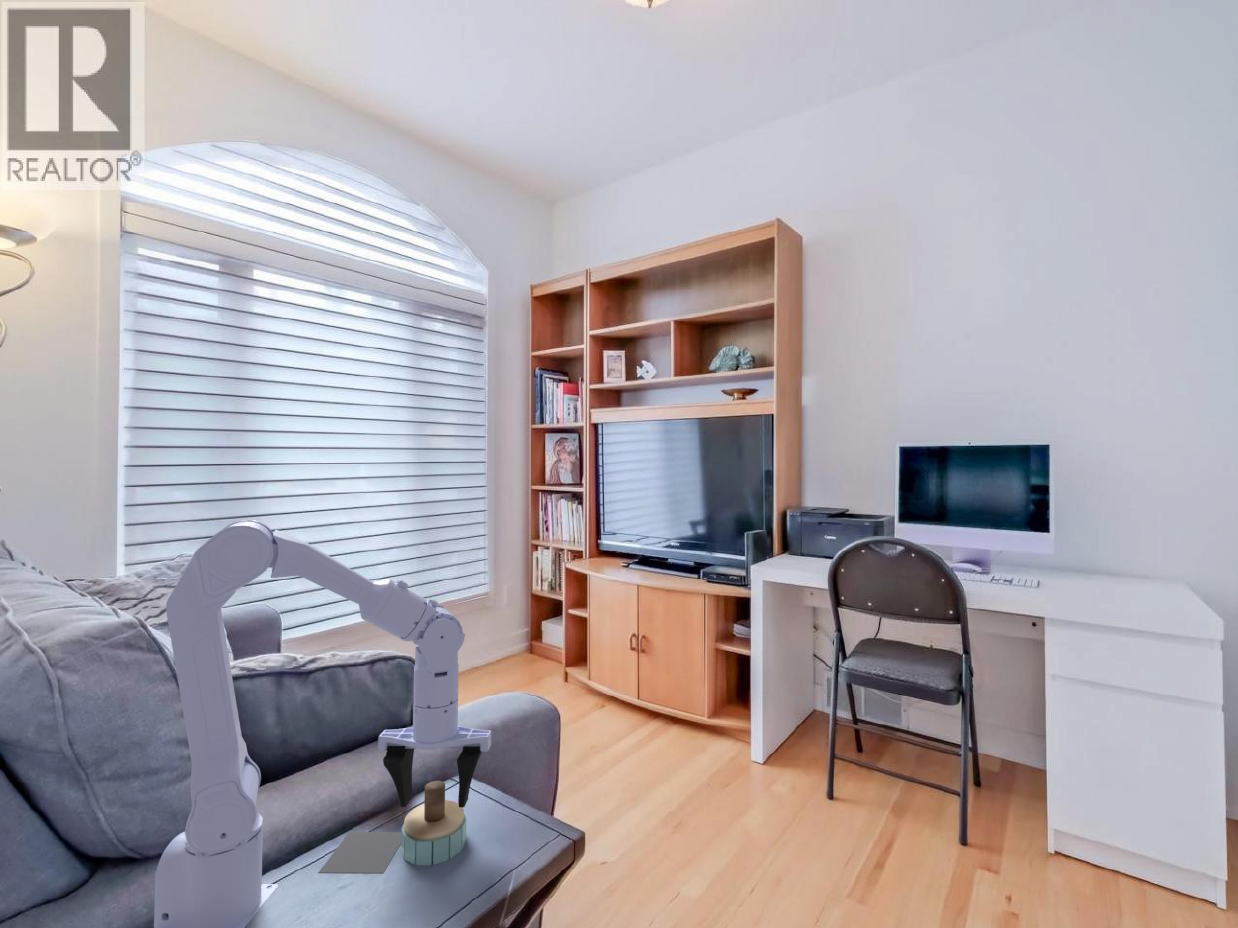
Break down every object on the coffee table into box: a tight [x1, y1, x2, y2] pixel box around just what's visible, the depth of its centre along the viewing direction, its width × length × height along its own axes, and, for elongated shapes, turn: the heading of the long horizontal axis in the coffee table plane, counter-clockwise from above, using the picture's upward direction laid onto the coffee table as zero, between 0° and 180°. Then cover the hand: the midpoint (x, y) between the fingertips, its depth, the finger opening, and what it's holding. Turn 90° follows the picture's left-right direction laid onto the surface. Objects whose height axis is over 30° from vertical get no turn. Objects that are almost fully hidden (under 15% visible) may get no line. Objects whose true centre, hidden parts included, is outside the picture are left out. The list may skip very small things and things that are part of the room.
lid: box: [403, 780, 465, 841], centre depth 75 cm, size 8×8×5 cm
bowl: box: [400, 813, 467, 866], centre depth 75 cm, size 8×8×3 cm
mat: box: [318, 831, 402, 874], centre depth 74 cm, size 8×8×1 cm
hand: (434, 802), depth 75 cm, fingers open, 7 cm apart
